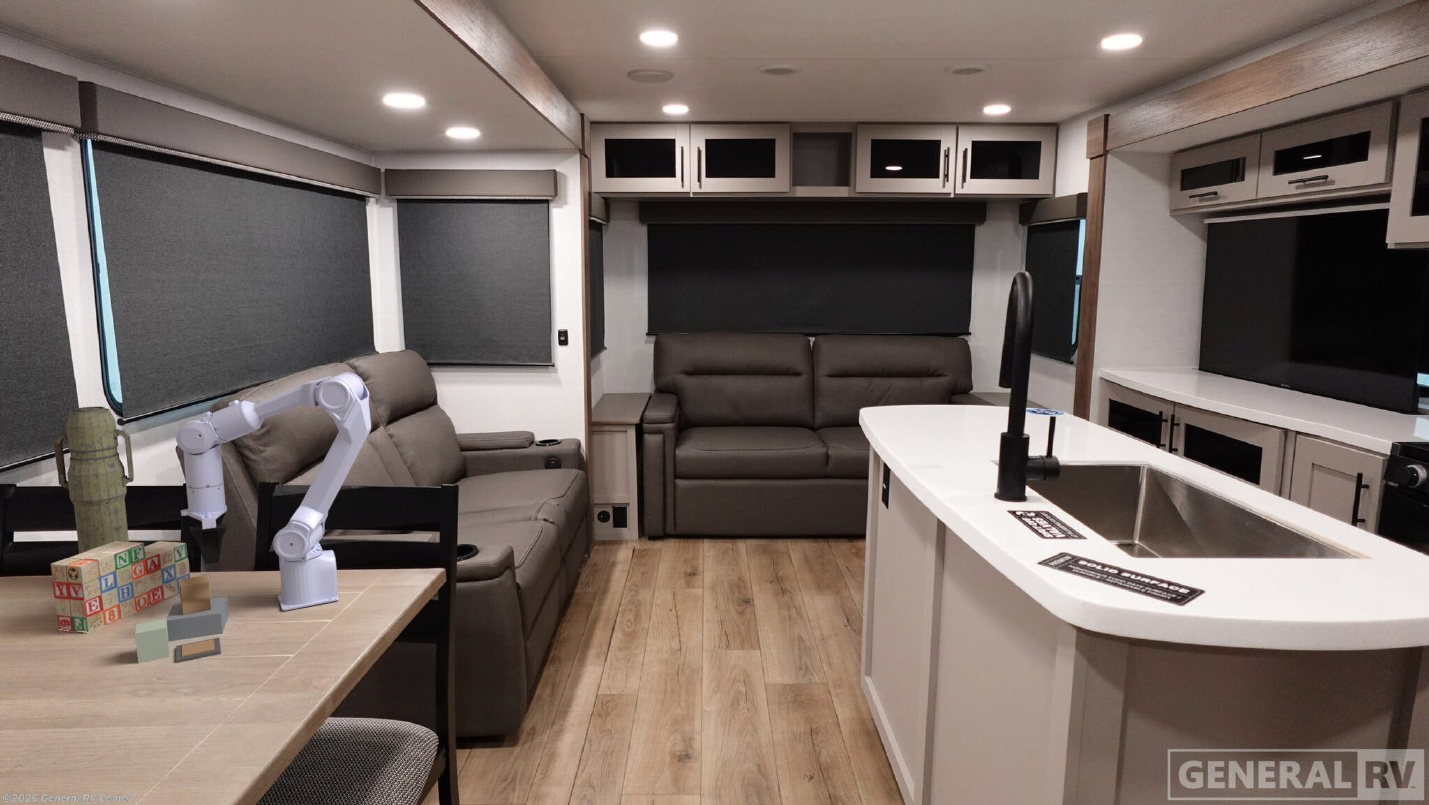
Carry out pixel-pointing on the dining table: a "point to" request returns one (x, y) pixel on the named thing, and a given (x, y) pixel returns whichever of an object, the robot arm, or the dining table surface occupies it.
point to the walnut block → (194, 594)
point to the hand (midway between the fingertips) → (211, 556)
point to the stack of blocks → (116, 582)
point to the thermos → (95, 476)
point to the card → (198, 649)
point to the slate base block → (197, 621)
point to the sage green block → (152, 640)
